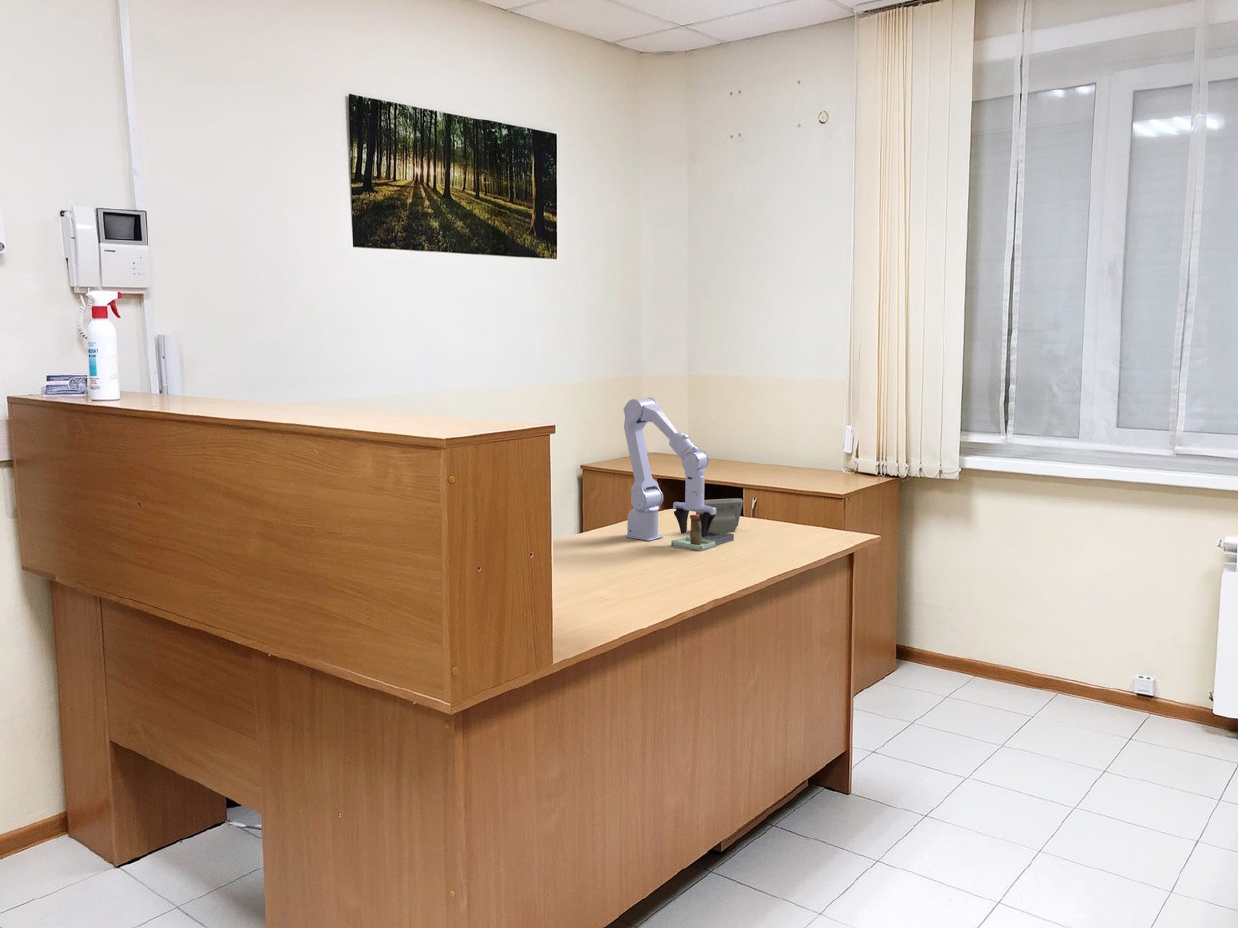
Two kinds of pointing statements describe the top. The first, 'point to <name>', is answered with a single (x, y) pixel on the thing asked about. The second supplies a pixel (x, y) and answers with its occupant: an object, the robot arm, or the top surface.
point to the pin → (695, 530)
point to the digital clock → (724, 514)
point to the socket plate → (718, 537)
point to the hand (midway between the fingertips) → (693, 534)
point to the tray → (686, 543)
